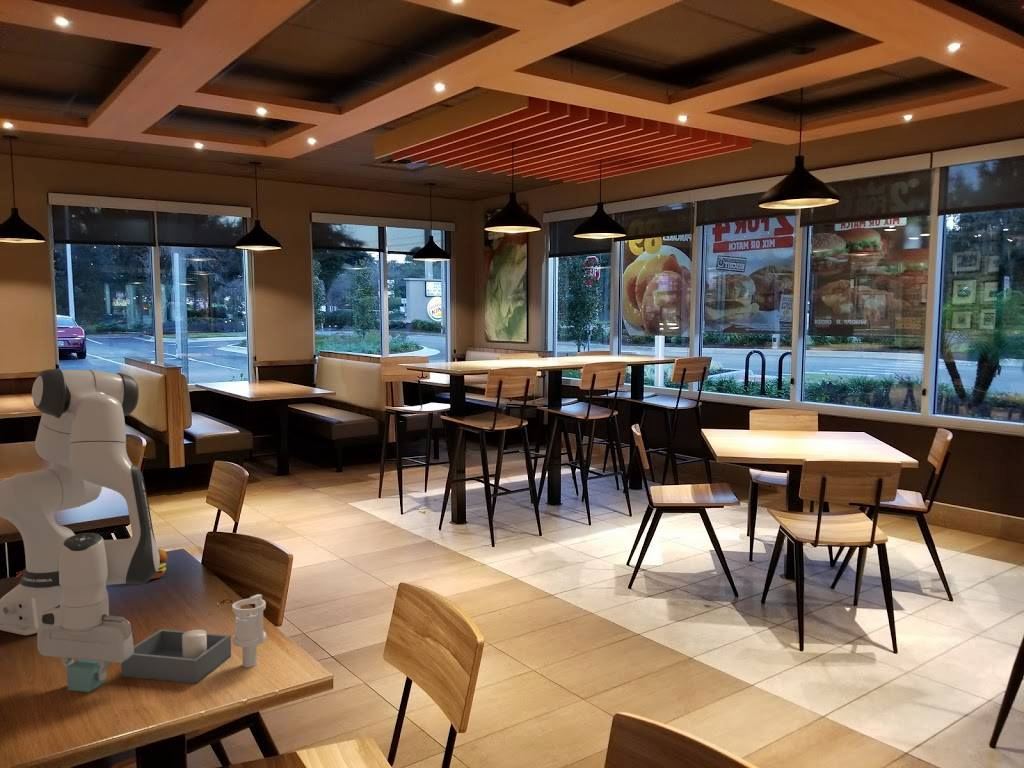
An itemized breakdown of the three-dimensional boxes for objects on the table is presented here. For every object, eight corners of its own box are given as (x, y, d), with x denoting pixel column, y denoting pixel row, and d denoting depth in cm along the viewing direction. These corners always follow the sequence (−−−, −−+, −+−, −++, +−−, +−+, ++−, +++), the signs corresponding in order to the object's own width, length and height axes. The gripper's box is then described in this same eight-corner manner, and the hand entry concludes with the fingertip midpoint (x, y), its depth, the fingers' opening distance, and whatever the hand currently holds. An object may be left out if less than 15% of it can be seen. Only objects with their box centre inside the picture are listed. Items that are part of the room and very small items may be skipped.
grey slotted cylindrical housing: (273, 661, 173) (272, 596, 172) (250, 673, 167) (249, 606, 166) (249, 655, 176) (248, 591, 175) (226, 667, 170) (225, 601, 169)
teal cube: (67, 689, 159) (66, 666, 158) (85, 679, 164) (84, 656, 163) (89, 692, 158) (88, 668, 158) (106, 681, 163) (105, 658, 162)
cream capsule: (177, 668, 168) (177, 637, 167) (191, 659, 173) (190, 628, 172) (198, 670, 167) (198, 639, 166) (211, 660, 172) (211, 630, 171)
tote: (122, 676, 165) (121, 653, 165) (161, 650, 179) (160, 629, 178) (196, 683, 162) (196, 660, 162) (231, 656, 176) (230, 635, 175)
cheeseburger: (119, 581, 225) (123, 546, 227) (142, 578, 235) (146, 545, 237) (150, 583, 223) (154, 548, 225) (172, 580, 234) (176, 547, 235)
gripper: (139, 611, 161) (141, 675, 162) (53, 604, 165) (56, 667, 166) (119, 623, 155) (121, 689, 156) (30, 615, 158) (32, 680, 159)
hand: (86, 677), depth 161 cm, fingers closed on teal cube, 5 cm apart
